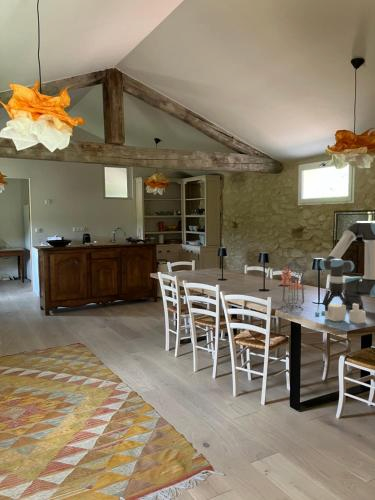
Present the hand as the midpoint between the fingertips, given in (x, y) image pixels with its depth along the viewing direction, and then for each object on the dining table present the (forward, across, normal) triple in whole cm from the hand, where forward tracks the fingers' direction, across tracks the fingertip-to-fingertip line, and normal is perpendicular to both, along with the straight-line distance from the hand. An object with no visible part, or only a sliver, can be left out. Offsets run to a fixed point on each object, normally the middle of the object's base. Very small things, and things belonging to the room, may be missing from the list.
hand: (335, 315), depth 257 cm
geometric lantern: (+4, +9, -42) cm, 43 cm away
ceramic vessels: (+4, -31, -119) cm, 123 cm away
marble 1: (+1, +5, -13) cm, 14 cm away
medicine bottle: (+4, -11, +7) cm, 14 cm away
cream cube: (+3, 0, -1) cm, 3 cm away
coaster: (+3, 0, 0) cm, 3 cm away
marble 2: (+1, -2, -15) cm, 15 cm away
